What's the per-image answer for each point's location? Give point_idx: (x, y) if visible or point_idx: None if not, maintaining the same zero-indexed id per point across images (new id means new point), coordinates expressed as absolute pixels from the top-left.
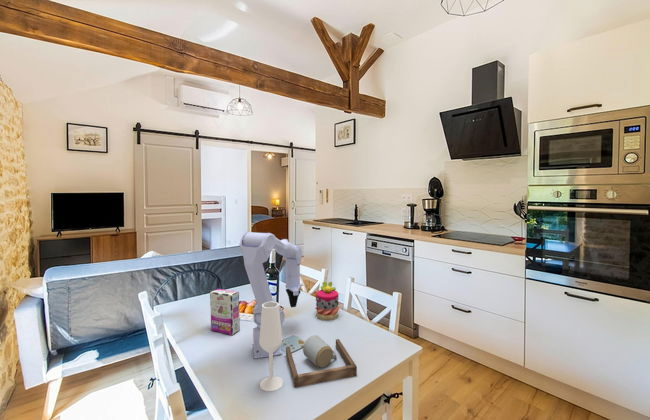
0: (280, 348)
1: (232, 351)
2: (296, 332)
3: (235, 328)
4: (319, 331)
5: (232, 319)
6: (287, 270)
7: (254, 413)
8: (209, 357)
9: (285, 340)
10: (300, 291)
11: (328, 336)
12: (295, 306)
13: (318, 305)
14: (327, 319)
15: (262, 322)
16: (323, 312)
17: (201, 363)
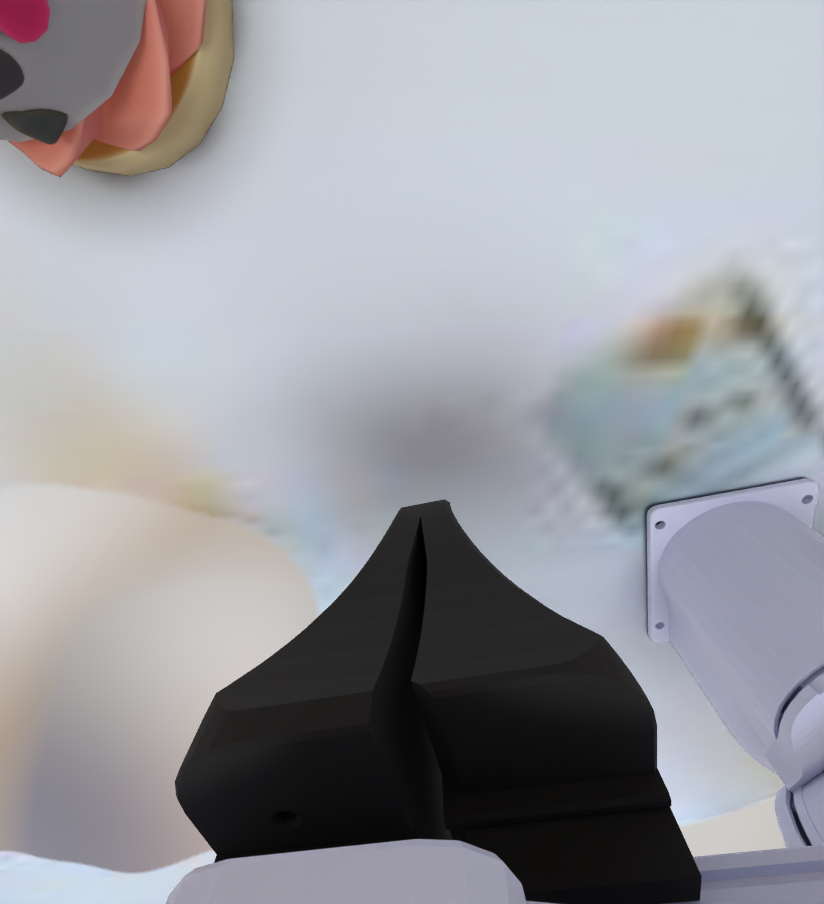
0: (750, 495)
1: (659, 713)
2: (495, 389)
3: None
4: (506, 146)
5: None
6: None
7: None
8: (683, 776)
9: (611, 466)
10: (591, 673)
11: (640, 24)
12: (450, 507)
13: (75, 89)
14: (226, 2)
15: None
16: (168, 27)
17: (723, 789)
